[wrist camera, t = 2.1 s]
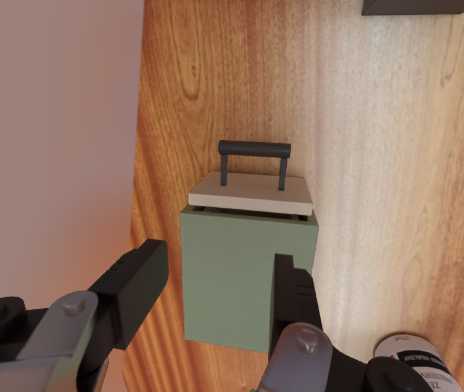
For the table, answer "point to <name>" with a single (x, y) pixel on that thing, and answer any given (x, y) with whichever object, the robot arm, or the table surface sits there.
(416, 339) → the supplement can
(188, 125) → the table surface
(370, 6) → the stand
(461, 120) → the table surface
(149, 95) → the table surface
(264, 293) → the cabinet
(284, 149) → the drawer
